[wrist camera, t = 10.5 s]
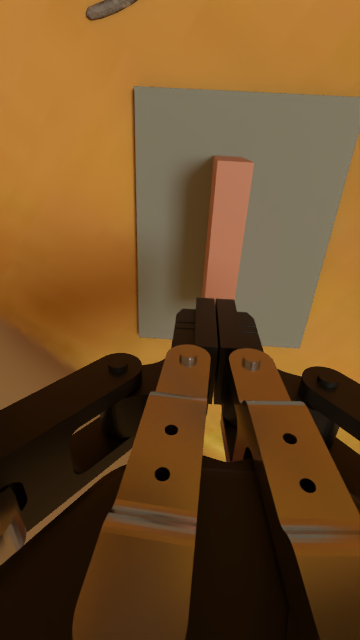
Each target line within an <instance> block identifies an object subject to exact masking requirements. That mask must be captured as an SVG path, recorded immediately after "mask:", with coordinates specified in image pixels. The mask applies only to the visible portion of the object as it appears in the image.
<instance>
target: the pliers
mask: <svg viewBox="0 0 360 640" xmlns="http://www.w3.org/2000/svg"><path fill="white" fill-rule="evenodd" d="M136 1H137V0H104V1H102V2H99V3H97V4H95V5H92V6H90V7H88V9H87V11H86V16H87V17H88V18H89V19H91V20H96V19H101V18H104V17H107V16H109V15H112V14H115V13H117V12H119V11H121V10H123V9H124V8H126V7H128V6H130V5H132V4H133V3H135V2H136Z"/></svg>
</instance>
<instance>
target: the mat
mask: <svg viewBox="0 0 360 640" xmlns="http://www.w3.org/2000/svg"><path fill="white" fill-rule="evenodd" d="M134 99H135V153H136V208H137V262H138V316H139V337H146V338H160V339H173V334H174V327H175V320H176V314H177V313H178V312H179V311H180V310H181V309H182V308H184V309H196V297H200V298H202V286H203V274H204V263H205V251H206V240H207V229H208V217H209V206H210V194H211V183H212V171H213V160H214V155H217V156H235V157H243V158H245V159H247V160H250V161H252V162H254V169H253V175H252V182H251V189H250V196H249V203H248V210H247V217H246V224H245V231H244V238H243V245H242V252H241V259H240V266H239V273H238V280H237V287H236V294H235V305H236V310H237V312H247V313H248V314H249V315H250V316H252V317H253V318H254V320H255V324H256V328H257V331H258V334H259V338H260V341H261V345H262V346H272V347H286V348H300V345H301V341H302V338H303V334H304V330H305V327H306V323H307V319H308V316H309V312H310V309H311V305H312V301H313V298H314V294H315V290H316V287H317V283H318V279H319V276H320V272H321V268H322V265H323V261H324V257H325V254H326V250H327V246H328V243H329V239H330V235H331V232H332V228H333V225H334V221H335V217H336V214H337V210H338V206H339V203H340V199H341V195H342V192H343V188H344V184H345V181H346V177H347V173H348V170H349V166H350V162H351V159H352V155H353V151H354V148H355V144H356V141H357V137H358V133H359V130H360V97H346V96H325V95H305V94H284V93H264V92H243V91H223V90H202V89H182V88H161V87H141V86H134Z"/></svg>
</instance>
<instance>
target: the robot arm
mask: <svg viewBox="0 0 360 640" xmlns="http://www.w3.org/2000/svg"><path fill="white" fill-rule="evenodd" d="M213 392H214V404H219V405H222V414H221V421H220V425H221V431H222V437H223V443H224V450H225V456H226V462H223V461H220V460H216V459H213V458H210V457H206V456H203V455H202V454H203V443H204V431H205V420H206V415H207V409H208V404H212V397H213ZM99 414H100V417H99V418H97V419H96V420H94V421H93V422H91V423H90V424H89V425H87V426H85V427H84V428H82V429H81V430H79V431H78V432H76V433H75V434H73V433H74V432H75V430H77V429H78V428H79V427H80V426H82V425H83V424H85V423H87V422H88V421H90V420H91V419H93V418H94V417H96V416H97V415H99ZM339 427H341V428H342V429H344V430H345V431H347V432H348V433H349V434H351V435H352V436H354V437H355V438H356V439H358V440H359V441H360V384H359V383H357V382H355V381H354V380H352V379H350V378H348V377H347V376H345V375H343V374H342V373H340V372H338V371H336V370H333V369H330V368H326V367H317V366H316V367H310V368H307V369H306V370H304V372H303V374H302V377H301V376H297V375H293V374H290V373H286V372H283V371H281V370H279V369H277V368H276V366H275V363H274V361H273V359H272V358H271V357H270V356H269V355H267V354H266V353H264V352H263V348H262V345H261V341H260V338H259V334H258V331H257V328H256V324H255V320H254V318H253V317H252V316H250V315H249V314H248V313H247V312H237V310H236V305H235V300H234V299H218V298H216V301H215V299H214V298H200V297H196V309H184V308H182V309H181V310H180V311H179V312H178V313H177V314H176V320H175V327H174V334H173V341H172V347H171V349H170V350H169V351H168V352H167V354H166V358H165V359H164V360H162V361H160V362H157V363H153V364H148V365H142V364H141V361H140V360H139V359H138V358H137V357H135V356H133V355H131V354H127V353H115V354H110V355H107V356H105V357H103V358H101V359H99V360H97V361H95V362H93V363H91V364H89V365H87V366H85V367H83V368H81V369H79V370H77V371H75V372H74V373H72V374H70V375H68V376H66V377H64V378H62V379H60V380H58V381H56V382H54V383H52V384H50V385H48V386H47V387H44V388H43V389H41V390H39V391H37V392H35V393H33V394H31V395H29V396H27V397H25V398H23V399H21V400H19V401H17V402H15V403H13V404H12V405H10V406H8V407H6V408H4V409H2V410H0V640H360V455H359V454H358V453H356V452H355V451H354V450H352V449H351V448H350V447H348V446H347V445H346V444H344V443H343V442H342V441H340V440H339V439H338V438H336V434H337V432H338V429H339ZM72 434H73V435H72ZM131 448H132V450H131V453H130V456H129V459H128V462H127V464H126V465H124V466H121V467H119V468H117V469H115V470H113V471H111V472H110V473H108V474H107V475H105V476H104V477H102V478H101V479H100V480H99V481H97V482H96V483H95V484H94V485H93V486H92V487H91V488H89V489H88V490H87V491H86V492H85V493H84V494H83V495H81V496H80V497H79V498H78V499H77V500H75V501H74V502H73V503H72V504H71V505H70V506H69V507H67V508H66V509H65V510H64V511H63V512H62V513H61V514H59V515H58V516H57V517H56V518H55V519H54V520H52V521H51V522H50V523H49V524H48V525H47V526H45V527H44V528H43V529H42V530H41V531H40V532H38V533H37V534H36V535H35V536H34V537H33V538H32V539H30V540H29V541H28V542H27V543H26V544H25V545H24V543H25V540H26V533H27V532H28V531H29V530H30V529H32V528H33V527H34V526H35V525H37V524H38V523H39V522H40V521H42V520H43V519H44V518H45V517H47V516H48V515H49V514H50V513H52V512H53V511H54V510H55V509H57V508H58V507H59V506H60V505H62V504H63V503H64V502H65V501H66V500H67V499H69V498H70V497H72V496H73V495H74V494H75V493H76V492H78V491H79V490H80V489H81V488H83V487H84V486H85V485H87V484H88V483H89V482H90V481H91V480H93V479H94V478H95V477H97V476H98V475H99V474H100V473H102V472H103V471H104V470H105V469H107V468H108V467H109V466H110V465H112V464H113V463H114V462H115V461H116V460H118V459H119V458H120V457H121V456H123V455H124V454H125V453H126V452H128V451H129V450H130V449H131Z"/></svg>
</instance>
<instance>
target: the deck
mask: <svg viewBox="0 0 360 640" xmlns="http://www.w3.org/2000/svg"><path fill="white" fill-rule="evenodd" d="M253 169H254V162H252V161H250V160H247V159H245V158H243V157H235V156H217V155H214V160H213V171H212V183H211V194H210V206H209V217H208V229H207V240H206V251H205V263H204V274H203V286H202V298H214V299H215V301H216V298H218V299H234V300H235V294H236V287H237V280H238V273H239V266H240V259H241V252H242V245H243V238H244V231H245V224H246V217H247V210H248V203H249V196H250V189H251V182H252V175H253Z"/></svg>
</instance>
